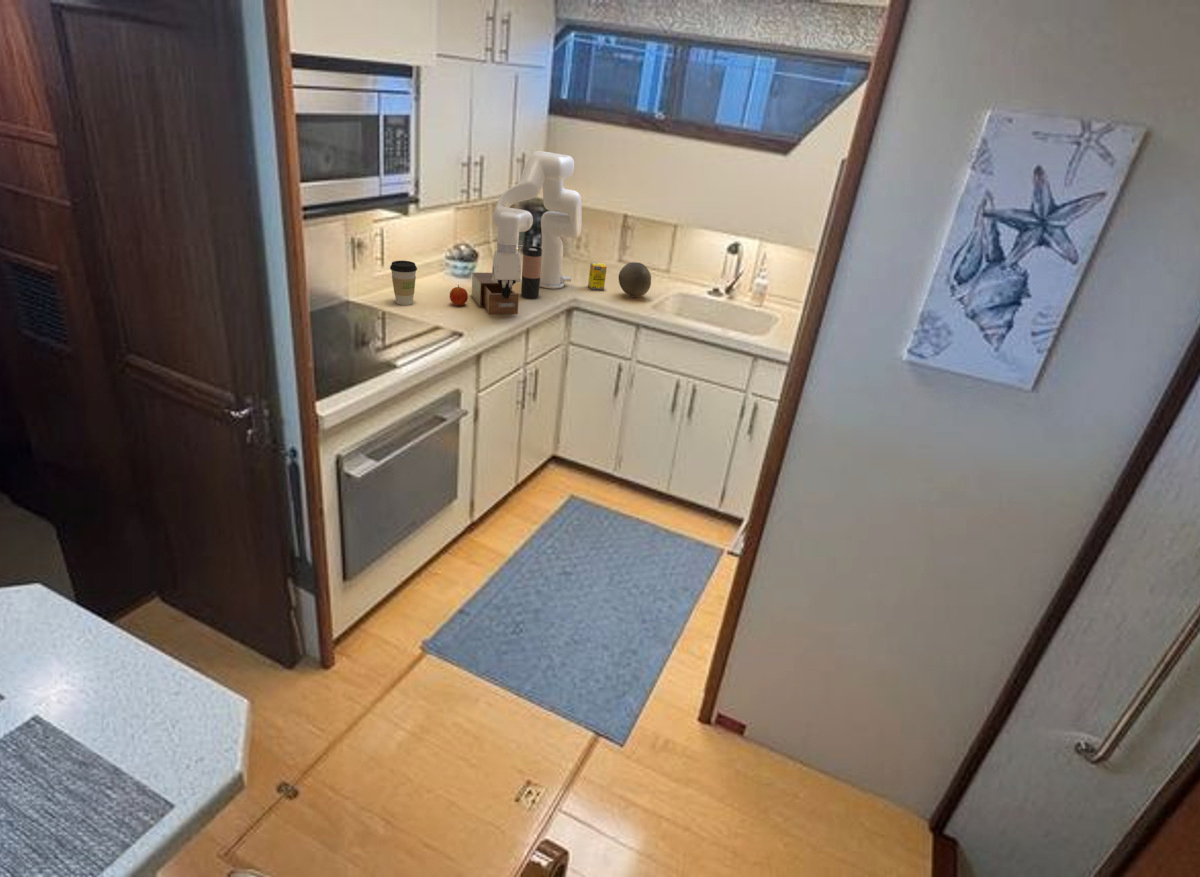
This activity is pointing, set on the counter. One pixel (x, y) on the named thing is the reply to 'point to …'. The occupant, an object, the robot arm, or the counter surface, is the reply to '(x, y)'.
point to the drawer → (499, 300)
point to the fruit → (458, 296)
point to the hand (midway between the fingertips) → (505, 297)
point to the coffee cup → (403, 281)
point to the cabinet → (481, 285)
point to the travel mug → (531, 272)
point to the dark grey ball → (635, 279)
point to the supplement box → (597, 276)
